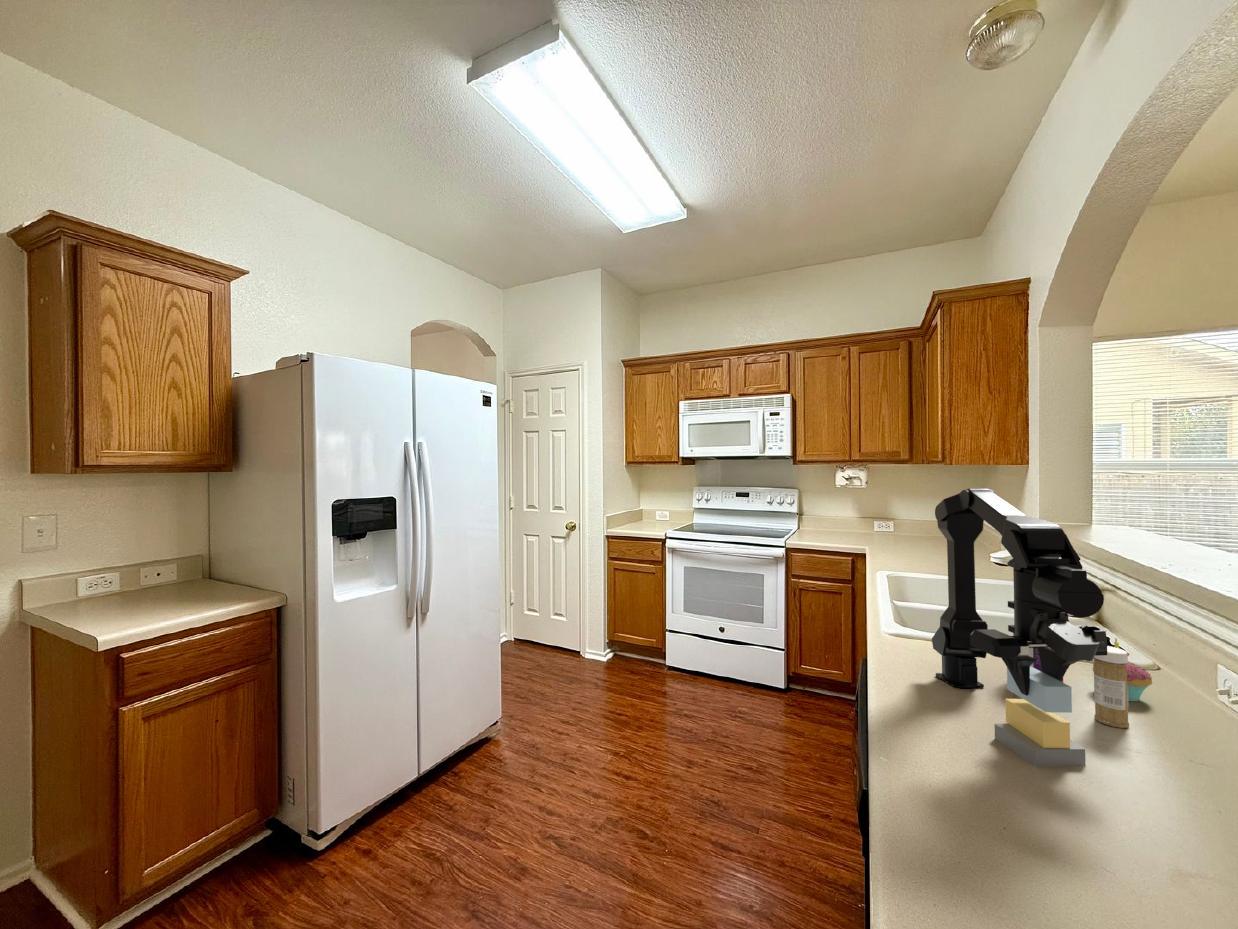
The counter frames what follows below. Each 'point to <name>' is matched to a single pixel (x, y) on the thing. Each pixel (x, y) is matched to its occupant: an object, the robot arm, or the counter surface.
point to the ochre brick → (1038, 724)
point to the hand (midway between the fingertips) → (1037, 694)
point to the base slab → (1038, 749)
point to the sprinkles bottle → (1111, 688)
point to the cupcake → (1135, 679)
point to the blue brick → (1044, 692)
